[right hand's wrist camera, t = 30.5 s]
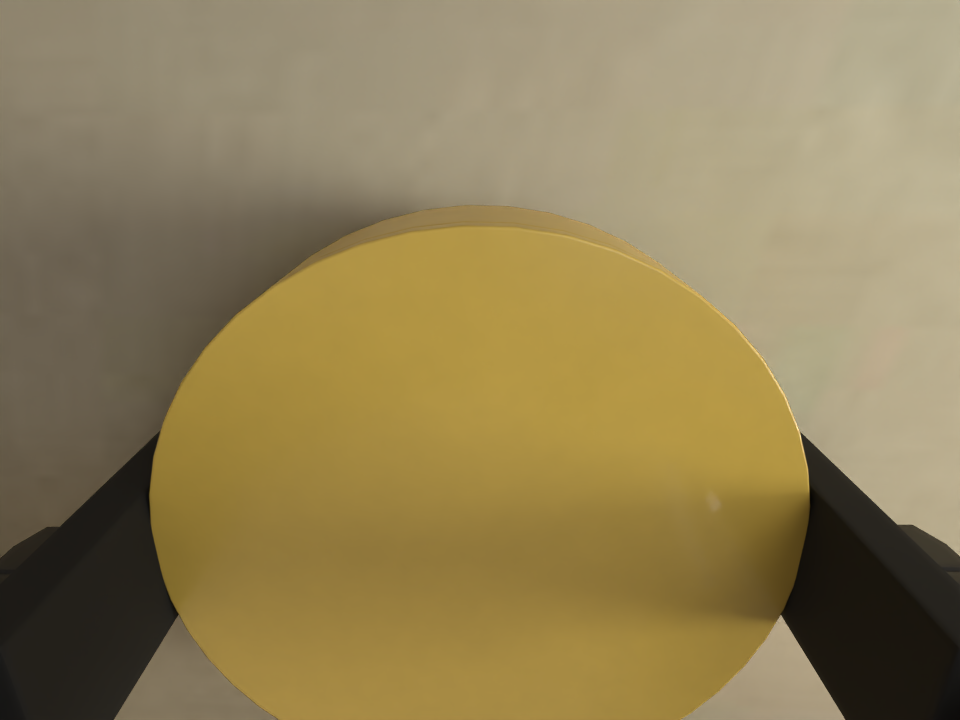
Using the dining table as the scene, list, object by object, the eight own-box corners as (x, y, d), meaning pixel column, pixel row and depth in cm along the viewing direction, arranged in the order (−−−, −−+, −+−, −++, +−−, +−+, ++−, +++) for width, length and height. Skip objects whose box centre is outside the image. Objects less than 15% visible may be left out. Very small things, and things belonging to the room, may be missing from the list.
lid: (844, 279, 11) (935, 317, 9) (651, 712, 15) (680, 813, 13) (226, 138, 10) (158, 142, 8) (193, 637, 14) (140, 731, 12)
